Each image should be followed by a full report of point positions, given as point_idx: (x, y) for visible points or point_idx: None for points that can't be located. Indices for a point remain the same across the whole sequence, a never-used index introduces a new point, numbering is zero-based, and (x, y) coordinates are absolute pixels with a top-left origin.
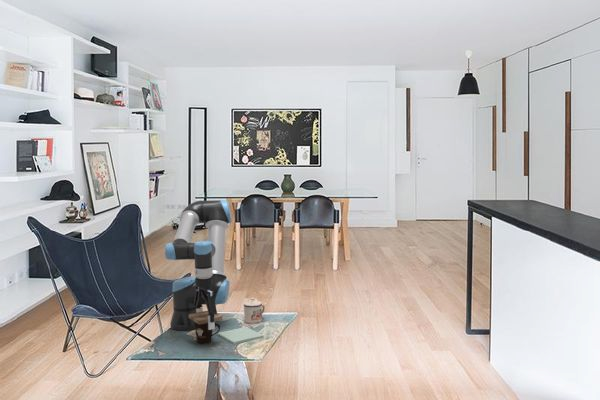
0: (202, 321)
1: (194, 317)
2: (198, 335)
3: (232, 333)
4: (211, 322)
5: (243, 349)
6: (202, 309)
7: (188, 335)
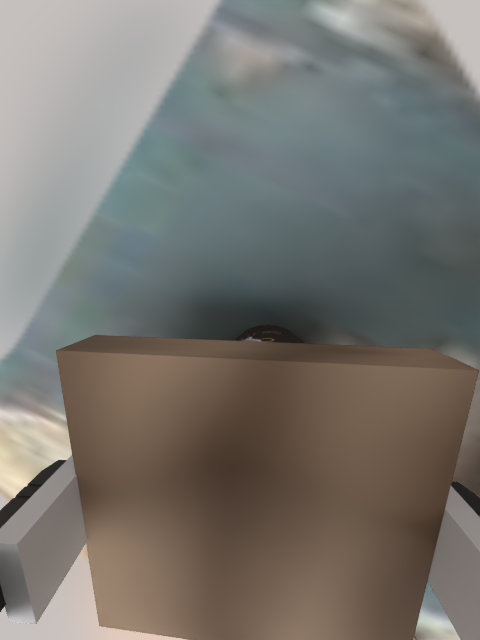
0: (77, 391)
1: (250, 371)
2: (248, 336)
3: None
4: (60, 462)
5: (53, 445)
6: (455, 625)
7: (430, 344)
